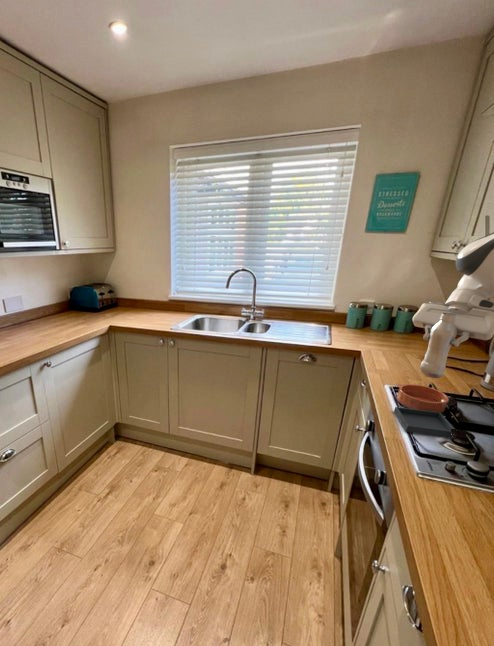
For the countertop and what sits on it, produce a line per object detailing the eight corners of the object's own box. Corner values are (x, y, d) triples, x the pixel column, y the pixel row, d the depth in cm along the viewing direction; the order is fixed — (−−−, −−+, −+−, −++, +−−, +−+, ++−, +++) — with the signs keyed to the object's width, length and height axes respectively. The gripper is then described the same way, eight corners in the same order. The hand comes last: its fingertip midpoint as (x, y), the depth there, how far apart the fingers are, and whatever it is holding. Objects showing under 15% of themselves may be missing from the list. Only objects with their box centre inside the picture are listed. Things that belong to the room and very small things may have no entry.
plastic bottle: (420, 379, 102) (440, 315, 95) (415, 370, 108) (432, 310, 100) (445, 381, 100) (467, 317, 93) (438, 373, 106) (458, 312, 98)
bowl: (434, 397, 113) (438, 386, 111) (452, 416, 101) (456, 405, 99) (391, 392, 116) (394, 382, 114) (404, 411, 104) (407, 399, 102)
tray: (438, 417, 100) (440, 412, 99) (455, 438, 90) (458, 432, 89) (393, 412, 103) (395, 406, 102) (405, 431, 93) (407, 425, 92)
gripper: (423, 294, 107) (401, 328, 105) (506, 305, 91) (481, 345, 90) (426, 306, 111) (404, 339, 109) (505, 319, 95) (481, 357, 94)
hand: (439, 342), depth 99 cm, fingers closed on plastic bottle, 6 cm apart
